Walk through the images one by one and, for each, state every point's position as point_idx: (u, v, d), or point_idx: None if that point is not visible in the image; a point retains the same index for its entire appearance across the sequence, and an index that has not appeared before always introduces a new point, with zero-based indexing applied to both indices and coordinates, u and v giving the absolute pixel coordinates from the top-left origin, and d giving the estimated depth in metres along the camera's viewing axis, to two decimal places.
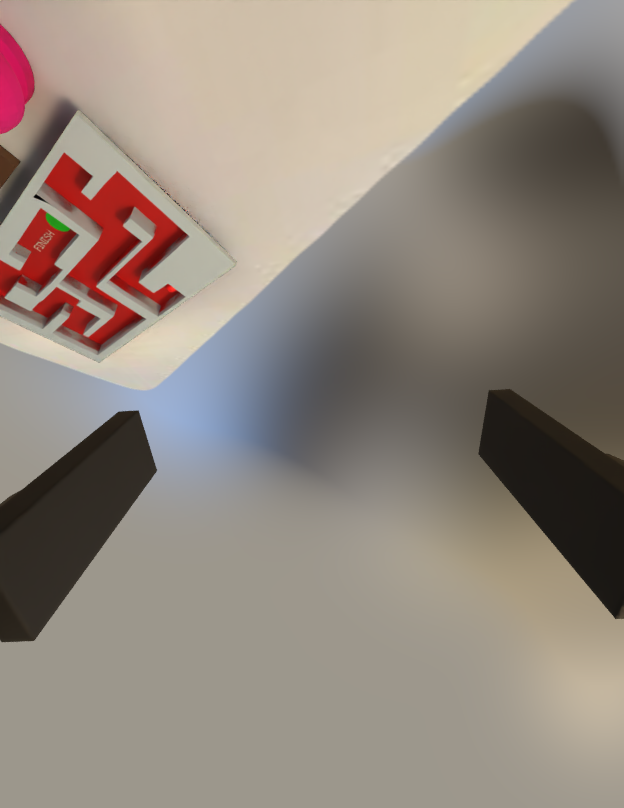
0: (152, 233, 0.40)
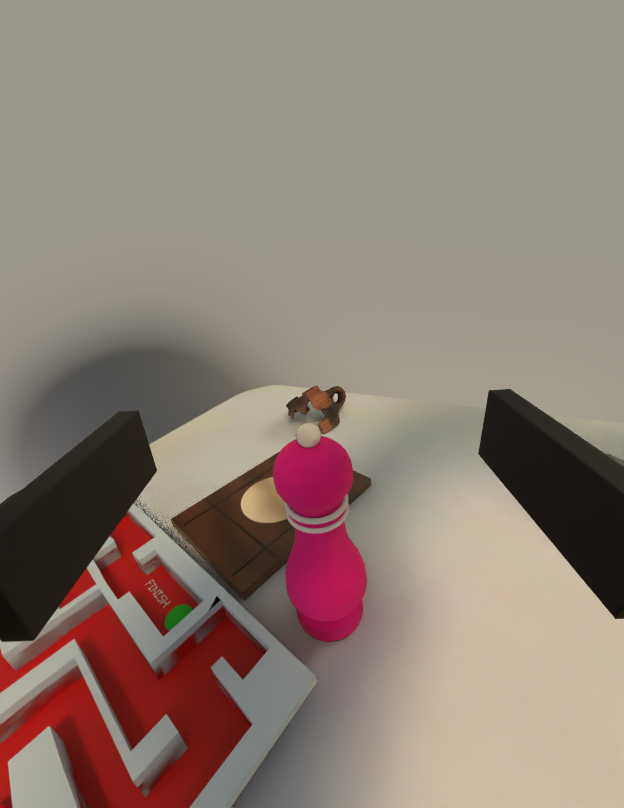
0: (140, 781, 0.20)
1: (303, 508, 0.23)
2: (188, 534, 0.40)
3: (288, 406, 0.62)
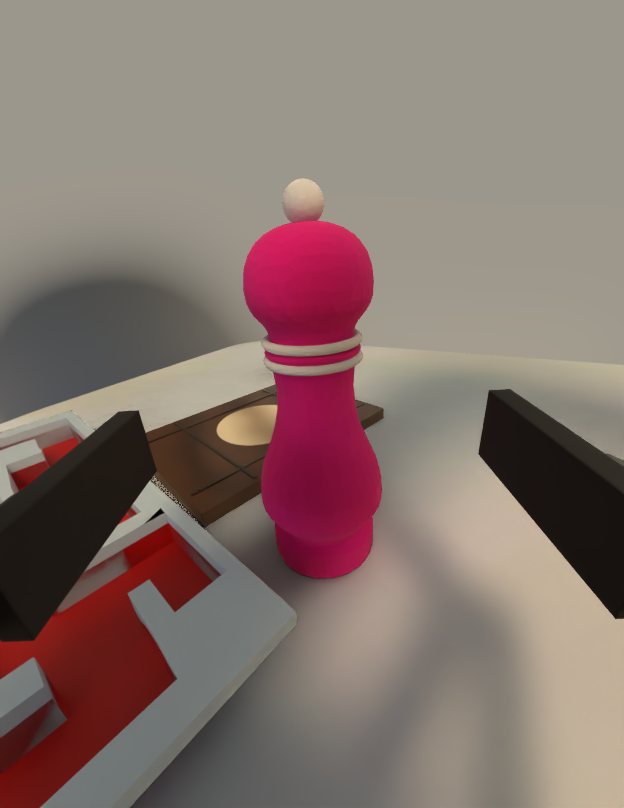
0: None
1: (288, 313, 0.13)
2: None
3: None
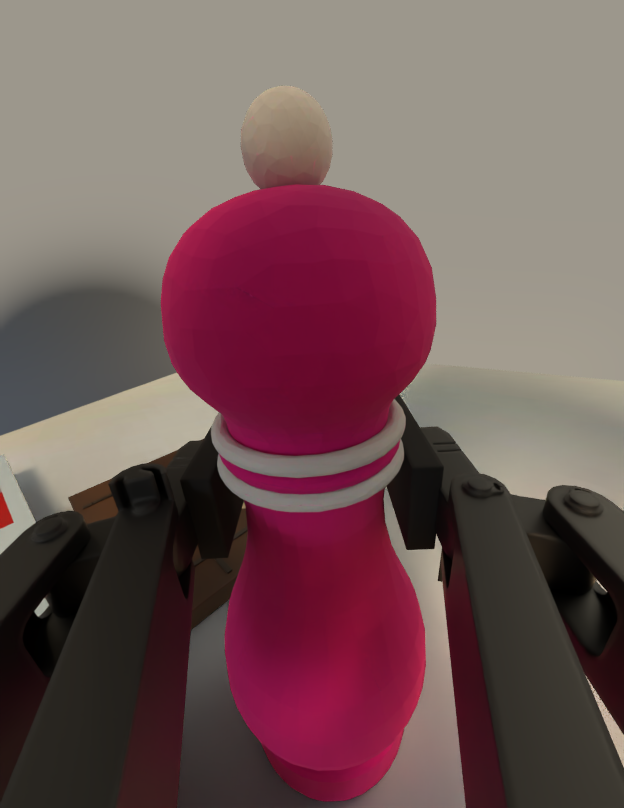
0: None
1: (251, 400, 0.06)
2: None
3: None
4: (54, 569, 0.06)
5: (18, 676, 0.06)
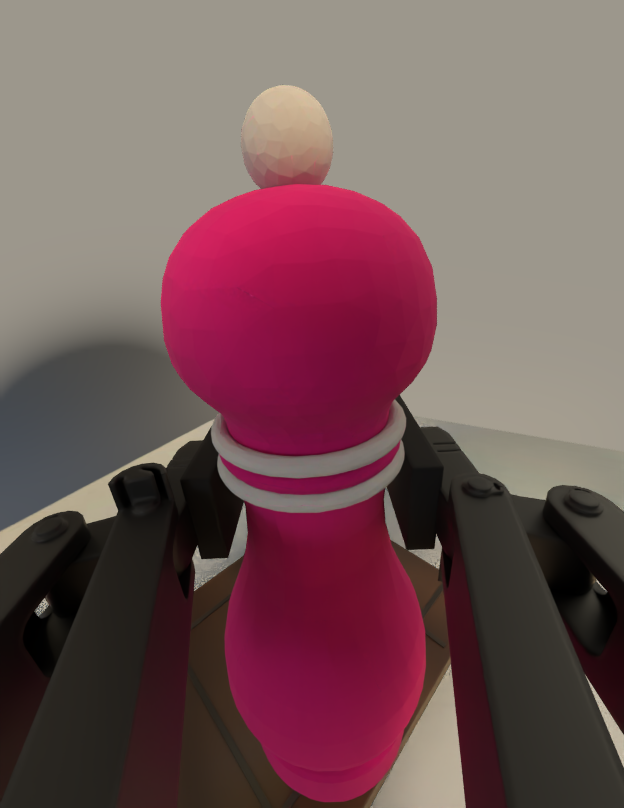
0: None
1: (251, 401, 0.06)
2: None
3: None
4: (54, 569, 0.06)
5: (18, 676, 0.06)
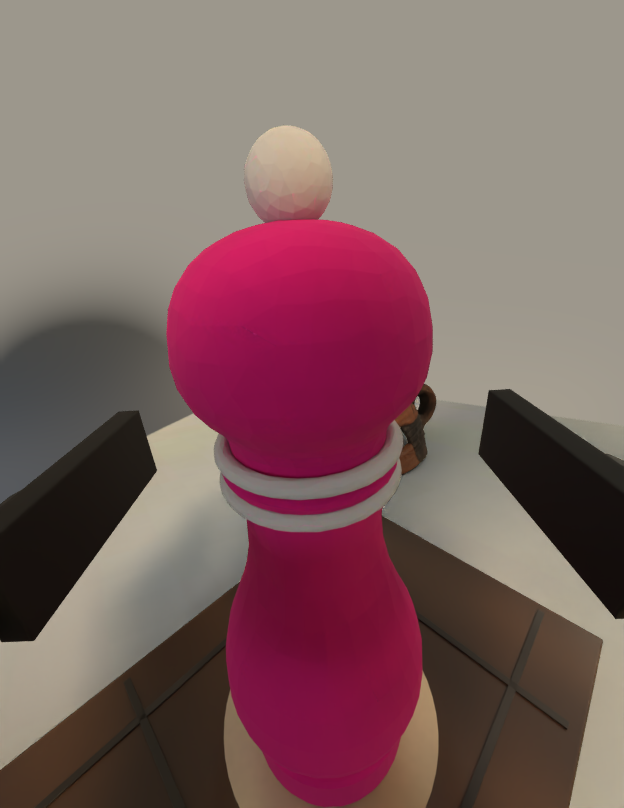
0: None
1: (253, 430, 0.06)
2: None
3: None
4: None
5: None
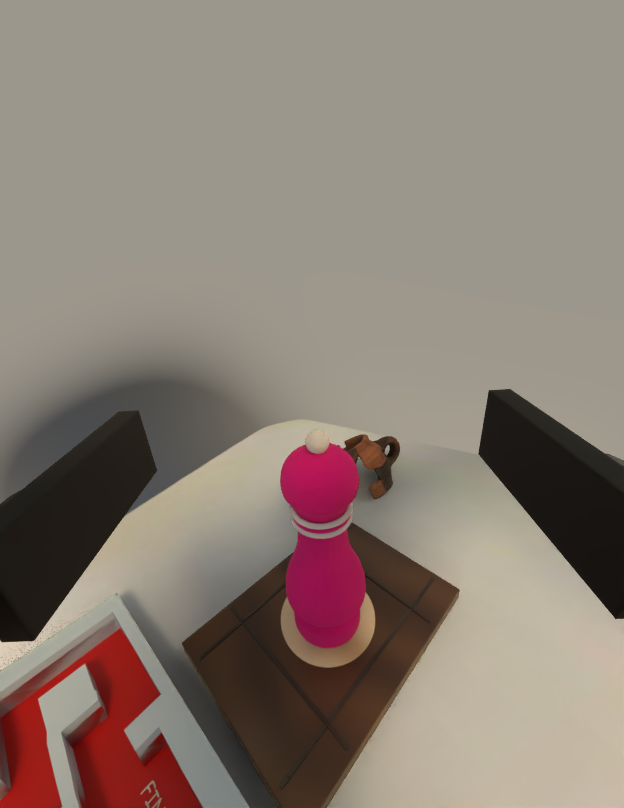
0: None
1: (309, 513, 0.23)
2: (207, 680, 0.28)
3: None
4: None
5: None
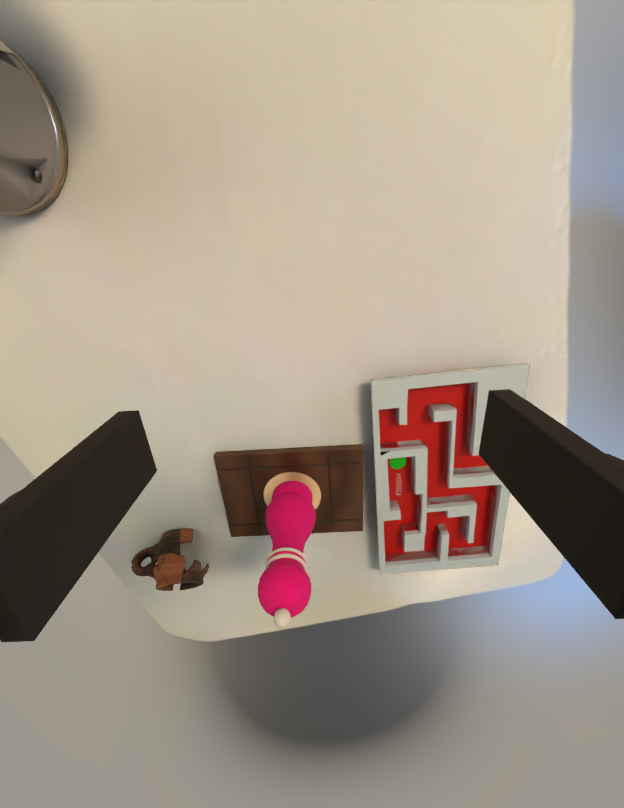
0: (453, 407, 0.44)
1: (306, 572, 0.38)
2: (361, 510, 0.53)
3: (202, 580, 0.55)
4: None
5: None
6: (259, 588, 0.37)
